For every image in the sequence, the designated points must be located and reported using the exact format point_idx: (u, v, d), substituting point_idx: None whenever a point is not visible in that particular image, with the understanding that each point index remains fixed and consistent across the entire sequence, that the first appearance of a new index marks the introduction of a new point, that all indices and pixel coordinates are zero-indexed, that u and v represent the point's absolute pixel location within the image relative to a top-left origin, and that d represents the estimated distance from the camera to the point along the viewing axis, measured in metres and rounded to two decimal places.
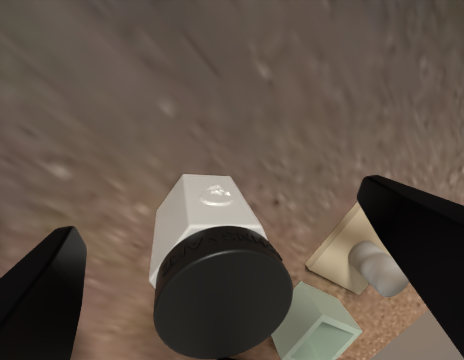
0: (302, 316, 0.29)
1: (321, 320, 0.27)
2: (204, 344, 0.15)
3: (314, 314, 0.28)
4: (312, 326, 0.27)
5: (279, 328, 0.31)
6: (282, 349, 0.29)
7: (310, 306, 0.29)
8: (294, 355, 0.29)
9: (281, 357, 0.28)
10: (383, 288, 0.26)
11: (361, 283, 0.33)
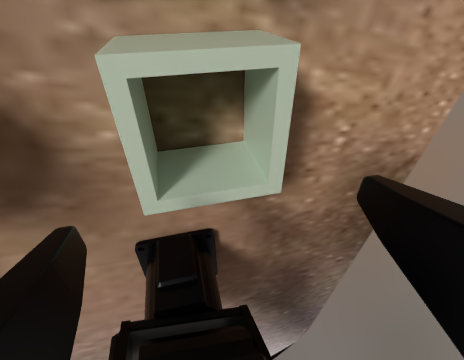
0: None
1: (122, 78, 0.09)
2: None
3: None
4: (116, 109, 0.09)
5: None
6: None
7: None
8: (176, 193, 0.13)
9: None
10: None
11: None
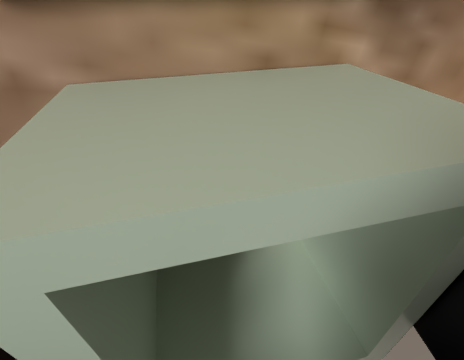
0: None
1: (33, 288, 0.03)
2: None
3: None
4: (29, 347, 0.03)
5: None
6: None
7: None
8: None
9: None
10: None
11: None
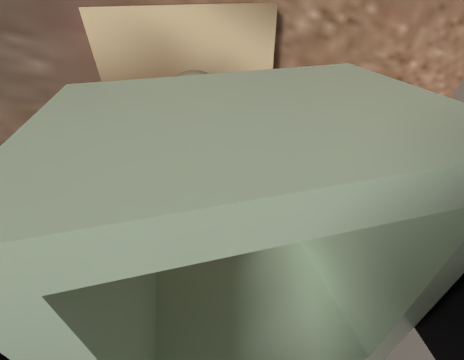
0: None
1: (31, 290, 0.03)
2: None
3: None
4: (27, 350, 0.03)
5: None
6: None
7: None
8: None
9: None
10: None
11: None
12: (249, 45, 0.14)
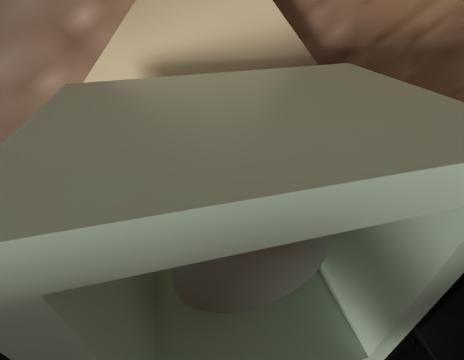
0: None
1: (30, 289, 0.03)
2: None
3: None
4: (27, 349, 0.03)
5: None
6: None
7: None
8: None
9: None
10: (261, 296, 0.07)
11: None
12: (218, 27, 0.07)
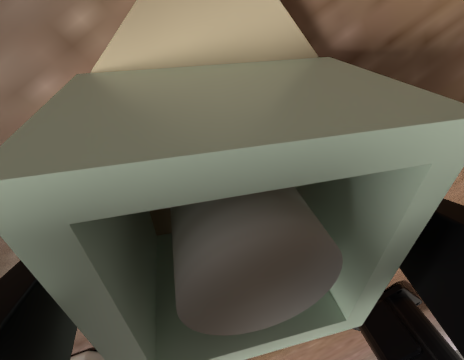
0: None
1: (60, 221, 0.03)
2: None
3: None
4: (54, 277, 0.04)
5: None
6: None
7: None
8: (188, 348, 0.07)
9: None
10: (269, 317, 0.06)
11: None
12: (223, 30, 0.07)
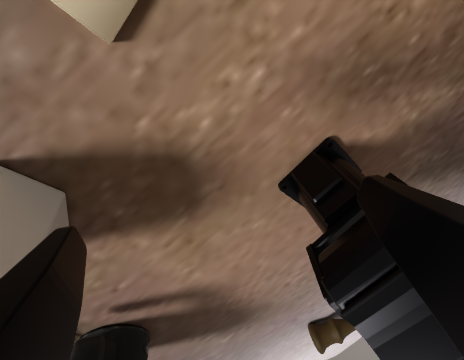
0: None
1: None
2: None
3: None
4: None
5: None
6: None
7: None
8: None
9: None
10: None
11: None
12: None
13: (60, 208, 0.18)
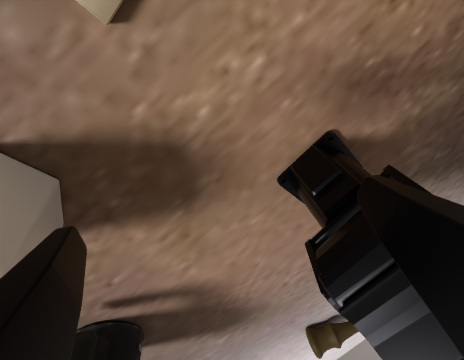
0: None
1: None
2: None
3: None
4: None
5: None
6: None
7: None
8: None
9: None
10: None
11: None
12: None
13: (53, 195, 0.17)
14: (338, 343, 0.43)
